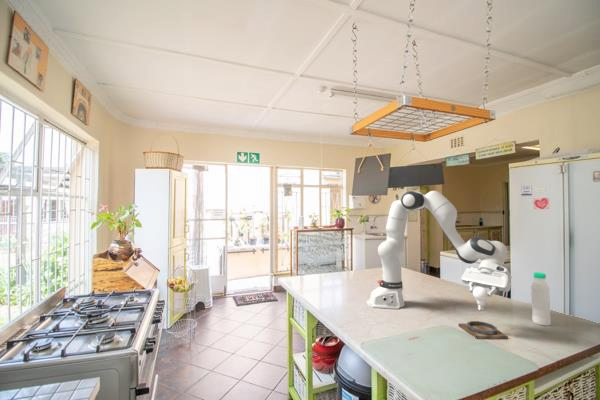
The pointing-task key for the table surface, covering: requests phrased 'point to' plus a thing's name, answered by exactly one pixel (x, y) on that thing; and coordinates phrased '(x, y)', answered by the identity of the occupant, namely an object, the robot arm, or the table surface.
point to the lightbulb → (480, 297)
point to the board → (482, 336)
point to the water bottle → (540, 300)
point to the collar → (482, 330)
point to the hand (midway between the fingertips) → (479, 293)
